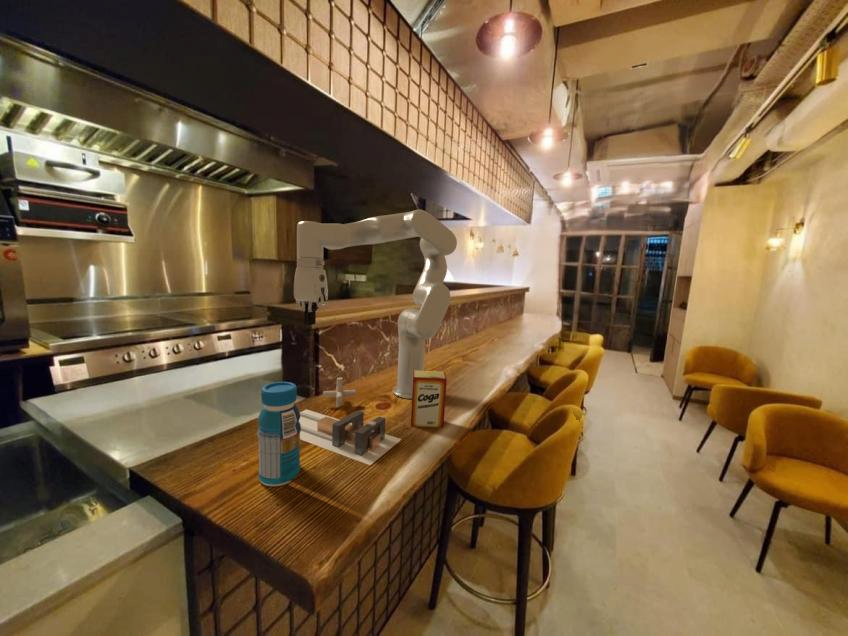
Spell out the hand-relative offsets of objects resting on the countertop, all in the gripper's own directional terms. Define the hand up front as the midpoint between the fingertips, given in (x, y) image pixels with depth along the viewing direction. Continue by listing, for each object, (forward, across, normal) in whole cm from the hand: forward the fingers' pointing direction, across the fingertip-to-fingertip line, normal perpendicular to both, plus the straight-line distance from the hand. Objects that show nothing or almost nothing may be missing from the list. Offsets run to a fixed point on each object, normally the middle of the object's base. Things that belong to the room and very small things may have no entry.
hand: (309, 324), depth 103 cm
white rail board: (+27, -19, +10) cm, 35 cm away
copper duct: (+26, -24, +10) cm, 37 cm away
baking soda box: (+27, -37, -10) cm, 47 cm away
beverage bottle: (+27, -21, +29) cm, 45 cm away
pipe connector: (+27, -8, -5) cm, 29 cm away
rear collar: (+26, -24, +10) cm, 37 cm away
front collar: (+26, -31, +10) cm, 42 cm away
